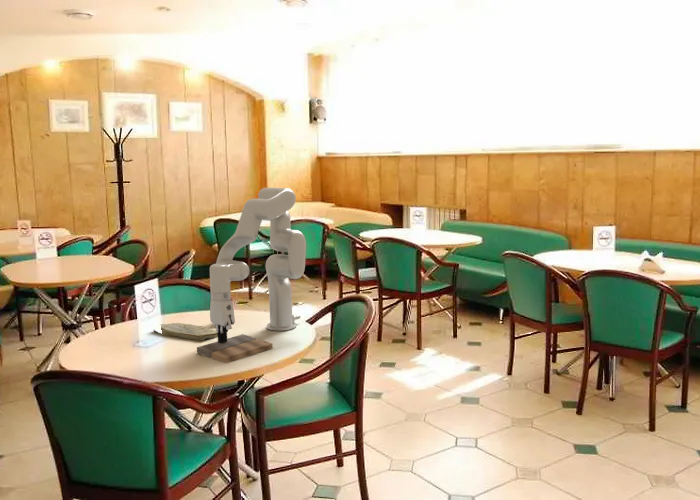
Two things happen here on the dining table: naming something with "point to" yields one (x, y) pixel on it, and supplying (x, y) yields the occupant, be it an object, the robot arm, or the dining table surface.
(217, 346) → the smoked oak plank
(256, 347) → the walnut board
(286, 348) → the dining table surface
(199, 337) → the stone slab
